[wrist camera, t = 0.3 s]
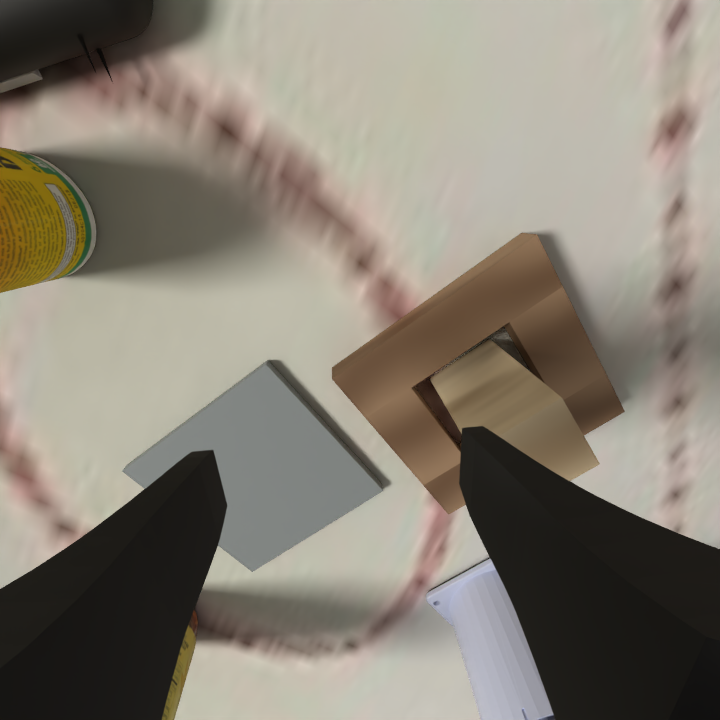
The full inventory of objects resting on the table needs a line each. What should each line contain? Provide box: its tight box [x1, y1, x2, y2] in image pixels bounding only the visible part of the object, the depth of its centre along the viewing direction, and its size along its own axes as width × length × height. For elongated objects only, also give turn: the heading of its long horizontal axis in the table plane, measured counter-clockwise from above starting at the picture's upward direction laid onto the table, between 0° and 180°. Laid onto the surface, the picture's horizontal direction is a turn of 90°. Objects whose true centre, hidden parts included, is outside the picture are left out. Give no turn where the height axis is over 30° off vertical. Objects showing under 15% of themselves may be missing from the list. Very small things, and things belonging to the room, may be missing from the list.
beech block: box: [429, 339, 600, 481], centre depth 18 cm, size 4×4×7 cm
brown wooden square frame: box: [332, 233, 625, 514], centre depth 21 cm, size 12×12×2 cm
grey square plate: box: [123, 360, 383, 572], centre depth 22 cm, size 11×11×1 cm
